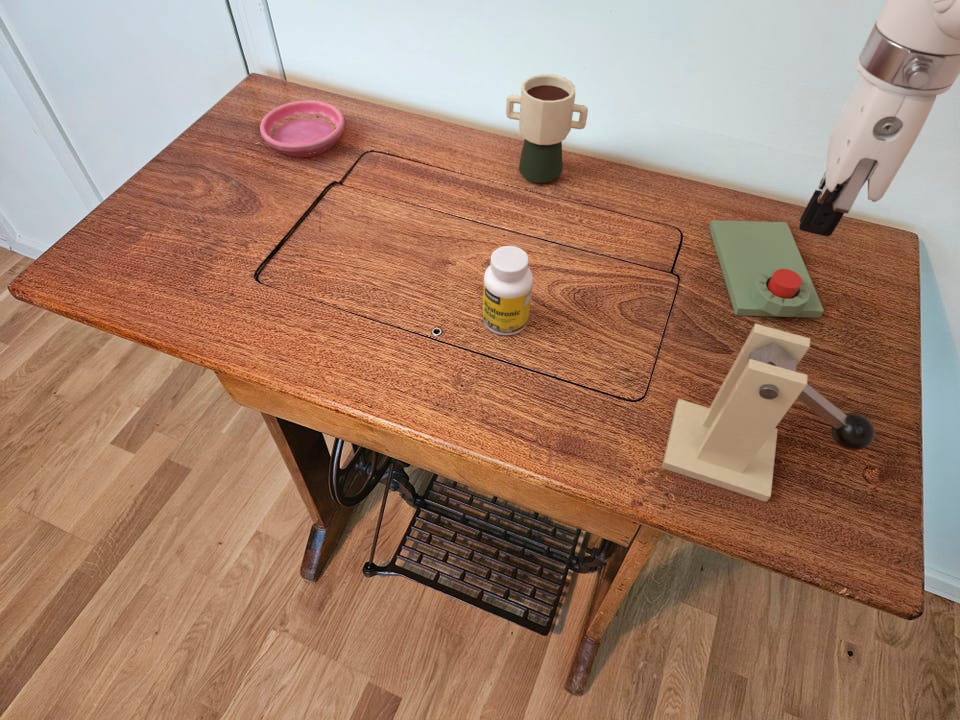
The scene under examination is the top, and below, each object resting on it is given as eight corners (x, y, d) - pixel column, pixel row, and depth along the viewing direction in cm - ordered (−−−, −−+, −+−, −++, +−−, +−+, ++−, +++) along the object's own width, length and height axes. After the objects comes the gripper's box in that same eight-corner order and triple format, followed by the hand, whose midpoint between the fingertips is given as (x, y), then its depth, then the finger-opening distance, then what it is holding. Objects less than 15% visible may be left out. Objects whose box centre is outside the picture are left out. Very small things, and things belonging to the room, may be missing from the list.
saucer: (279, 173, 89) (273, 154, 87) (254, 130, 96) (248, 111, 94) (359, 149, 93) (356, 130, 91) (330, 110, 100) (327, 91, 97)
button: (799, 299, 71) (805, 288, 70) (771, 298, 71) (777, 287, 70) (791, 279, 73) (797, 269, 72) (764, 279, 73) (770, 268, 72)
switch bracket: (773, 434, 63) (847, 334, 51) (766, 502, 59) (845, 410, 46) (675, 404, 65) (723, 301, 53) (661, 468, 61) (709, 371, 48)
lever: (848, 431, 56) (883, 421, 53) (847, 461, 54) (884, 451, 51) (745, 350, 53) (778, 334, 50) (741, 378, 51) (774, 363, 48)
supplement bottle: (475, 329, 72) (475, 267, 64) (492, 297, 75) (494, 235, 67) (519, 343, 70) (525, 281, 63) (535, 310, 73) (542, 248, 66)
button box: (822, 324, 72) (834, 307, 70) (737, 322, 73) (745, 304, 70) (783, 229, 83) (792, 211, 81) (708, 227, 83) (715, 209, 81)
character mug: (580, 165, 91) (594, 79, 81) (572, 194, 87) (586, 107, 77) (509, 153, 93) (513, 68, 83) (497, 181, 89) (501, 95, 78)
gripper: (971, 111, 46) (850, 285, 60) (955, 24, 54) (853, 195, 69) (863, 91, 47) (771, 265, 62) (864, 9, 56) (783, 180, 70)
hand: (814, 228), depth 65 cm, fingers closed
